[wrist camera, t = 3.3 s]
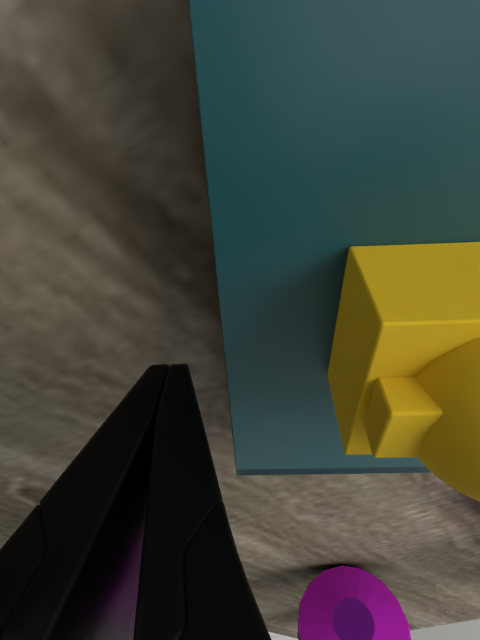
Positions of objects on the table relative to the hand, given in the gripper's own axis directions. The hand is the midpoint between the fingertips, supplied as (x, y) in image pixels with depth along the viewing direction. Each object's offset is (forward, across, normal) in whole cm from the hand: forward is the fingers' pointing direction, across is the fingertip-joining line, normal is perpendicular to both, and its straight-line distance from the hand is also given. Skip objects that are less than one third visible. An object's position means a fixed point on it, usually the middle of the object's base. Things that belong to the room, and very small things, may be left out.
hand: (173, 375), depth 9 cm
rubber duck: (+2, -7, 0) cm, 7 cm away
